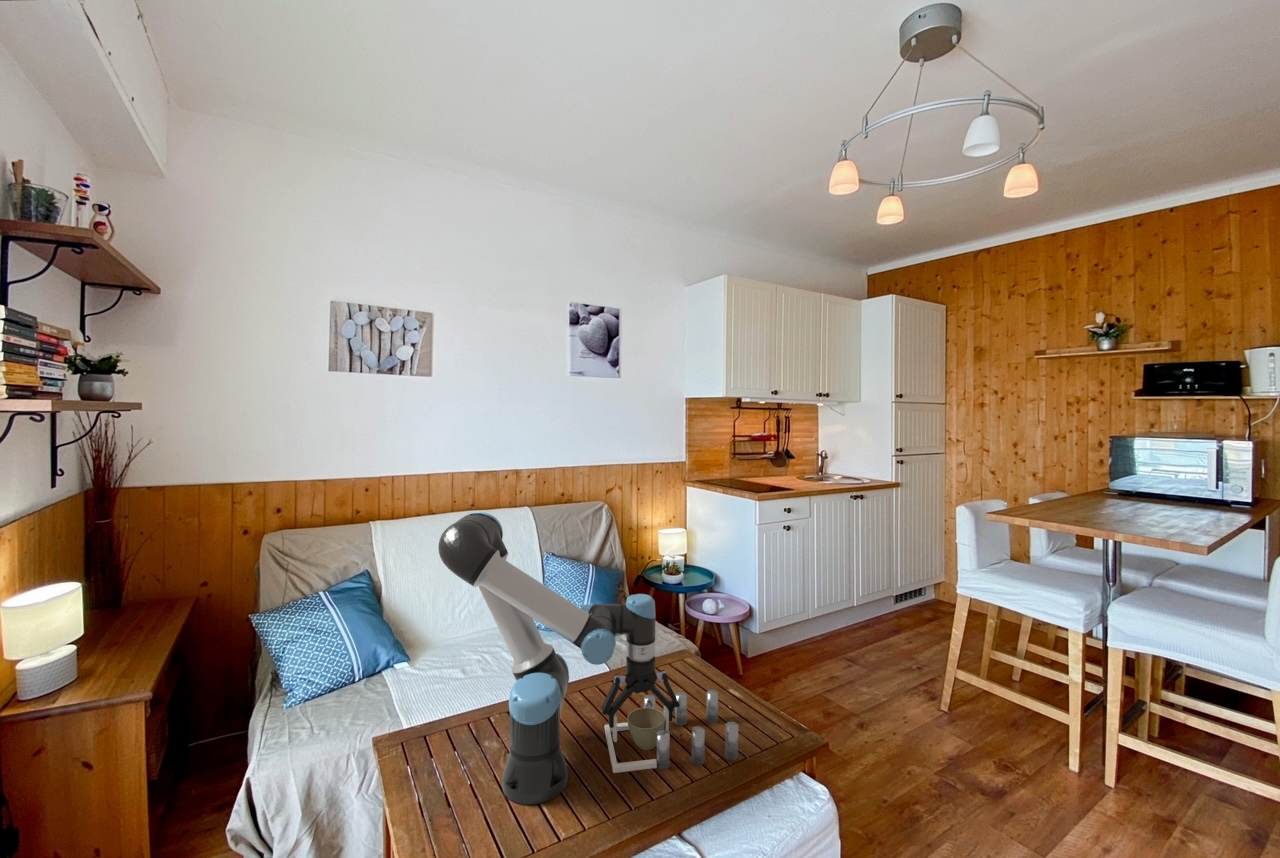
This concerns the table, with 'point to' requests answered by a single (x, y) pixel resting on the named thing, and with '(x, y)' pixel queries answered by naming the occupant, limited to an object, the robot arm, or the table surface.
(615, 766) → the frame
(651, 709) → the flower pot
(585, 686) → the table surface
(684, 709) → the spacers
